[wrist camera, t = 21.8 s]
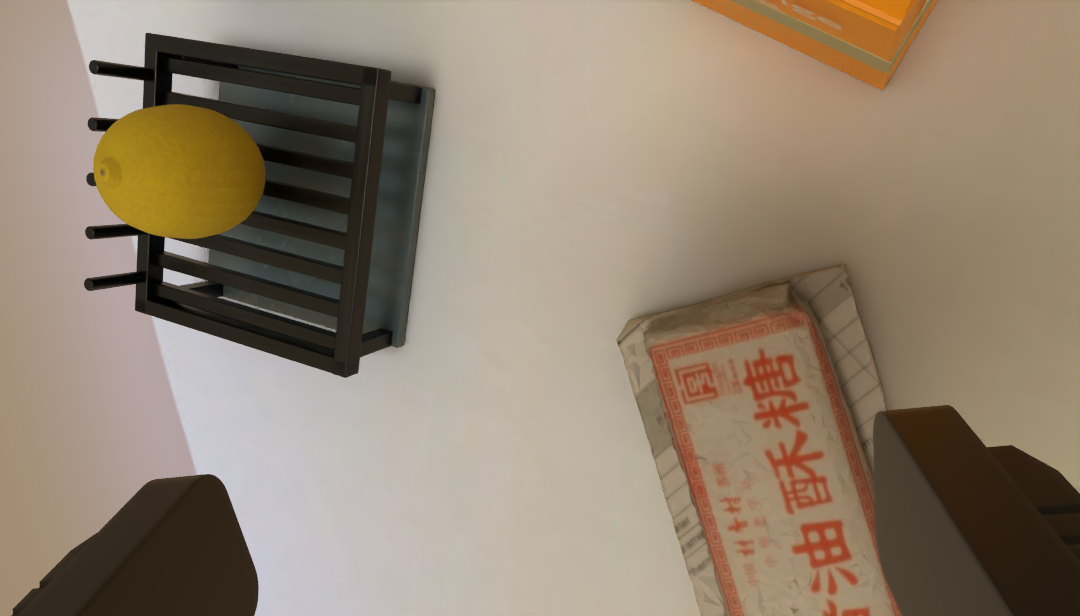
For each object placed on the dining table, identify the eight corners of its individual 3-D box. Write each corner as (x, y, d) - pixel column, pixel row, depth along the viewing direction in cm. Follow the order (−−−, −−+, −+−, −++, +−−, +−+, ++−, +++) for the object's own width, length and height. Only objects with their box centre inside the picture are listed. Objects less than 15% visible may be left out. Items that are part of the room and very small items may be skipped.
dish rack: (226, 48, 42) (87, 21, 34) (440, 81, 37) (334, 58, 30) (211, 296, 45) (81, 321, 37) (406, 354, 40) (302, 395, 33)
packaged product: (586, 341, 31) (842, 273, 27) (620, 320, 36) (845, 259, 32) (715, 758, 32) (983, 752, 28) (732, 687, 36) (967, 673, 32)
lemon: (275, 254, 37) (129, 274, 29) (194, 192, 38) (34, 197, 31) (320, 150, 35) (175, 144, 27) (232, 89, 36) (72, 68, 29)
